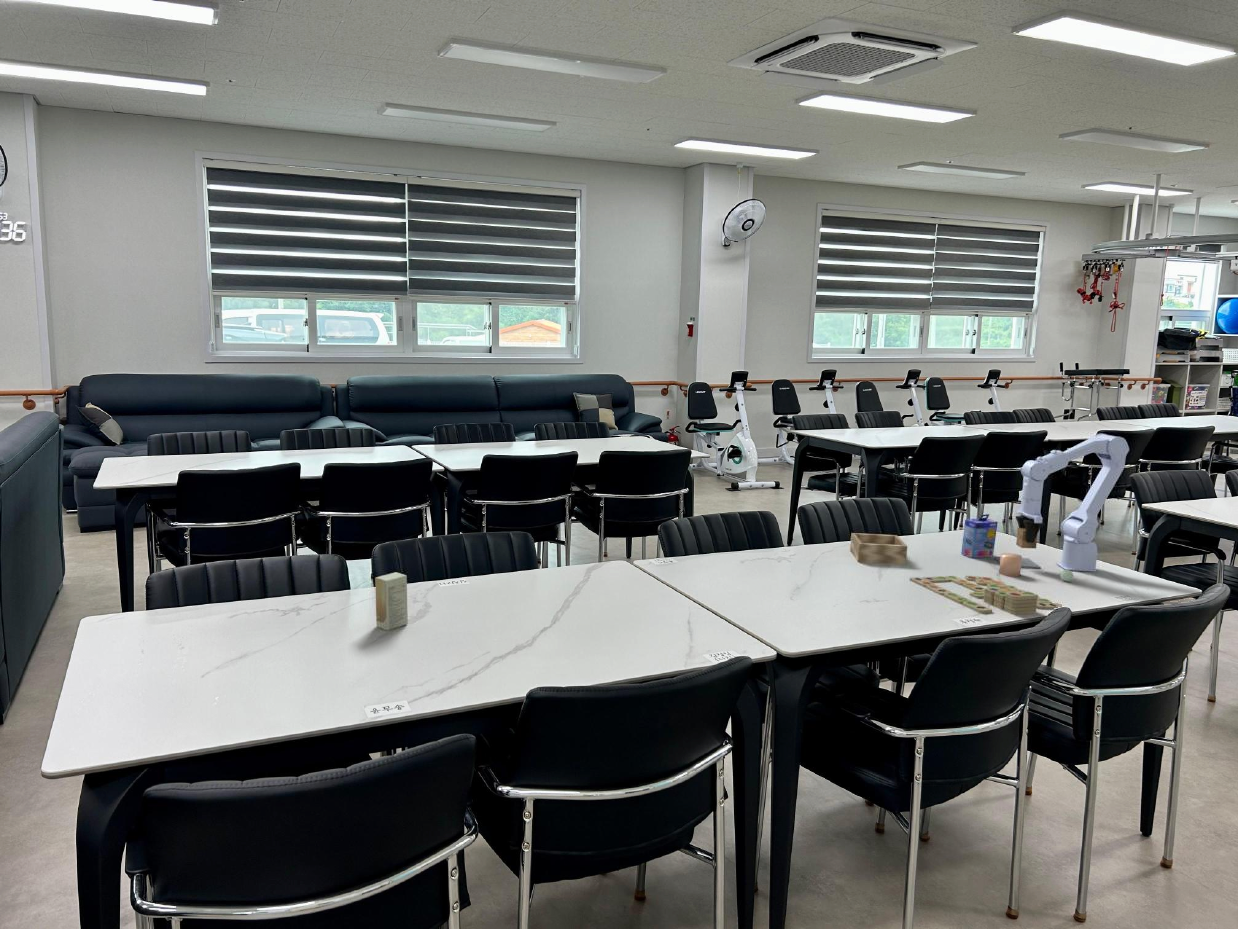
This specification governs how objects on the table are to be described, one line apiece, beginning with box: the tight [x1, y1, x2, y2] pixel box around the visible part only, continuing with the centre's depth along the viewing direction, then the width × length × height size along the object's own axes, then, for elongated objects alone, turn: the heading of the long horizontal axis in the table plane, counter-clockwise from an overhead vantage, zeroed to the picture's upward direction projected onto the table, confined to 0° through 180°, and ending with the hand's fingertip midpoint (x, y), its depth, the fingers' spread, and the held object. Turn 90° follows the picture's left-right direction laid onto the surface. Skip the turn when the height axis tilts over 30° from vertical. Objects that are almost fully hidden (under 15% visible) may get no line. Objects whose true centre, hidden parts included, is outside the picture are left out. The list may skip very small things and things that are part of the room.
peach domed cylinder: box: [998, 552, 1023, 578], centre depth 273 cm, size 6×6×6 cm
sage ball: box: [1059, 569, 1074, 583], centre depth 267 cm, size 4×4×4 cm
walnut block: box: [1015, 527, 1039, 549], centre depth 280 cm, size 4×4×6 cm
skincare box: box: [374, 572, 409, 631], centre depth 208 cm, size 6×4×12 cm
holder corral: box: [849, 532, 908, 566], centre depth 288 cm, size 15×15×6 cm
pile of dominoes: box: [909, 575, 1064, 616], centre depth 250 cm, size 35×27×6 cm
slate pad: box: [993, 555, 1042, 570], centre depth 287 cm, size 11×11×1 cm
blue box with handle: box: [960, 513, 998, 559], centre depth 294 cm, size 10×6×14 cm, turn 114°
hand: (1027, 540), depth 280 cm, fingers closed on walnut block, 4 cm apart
